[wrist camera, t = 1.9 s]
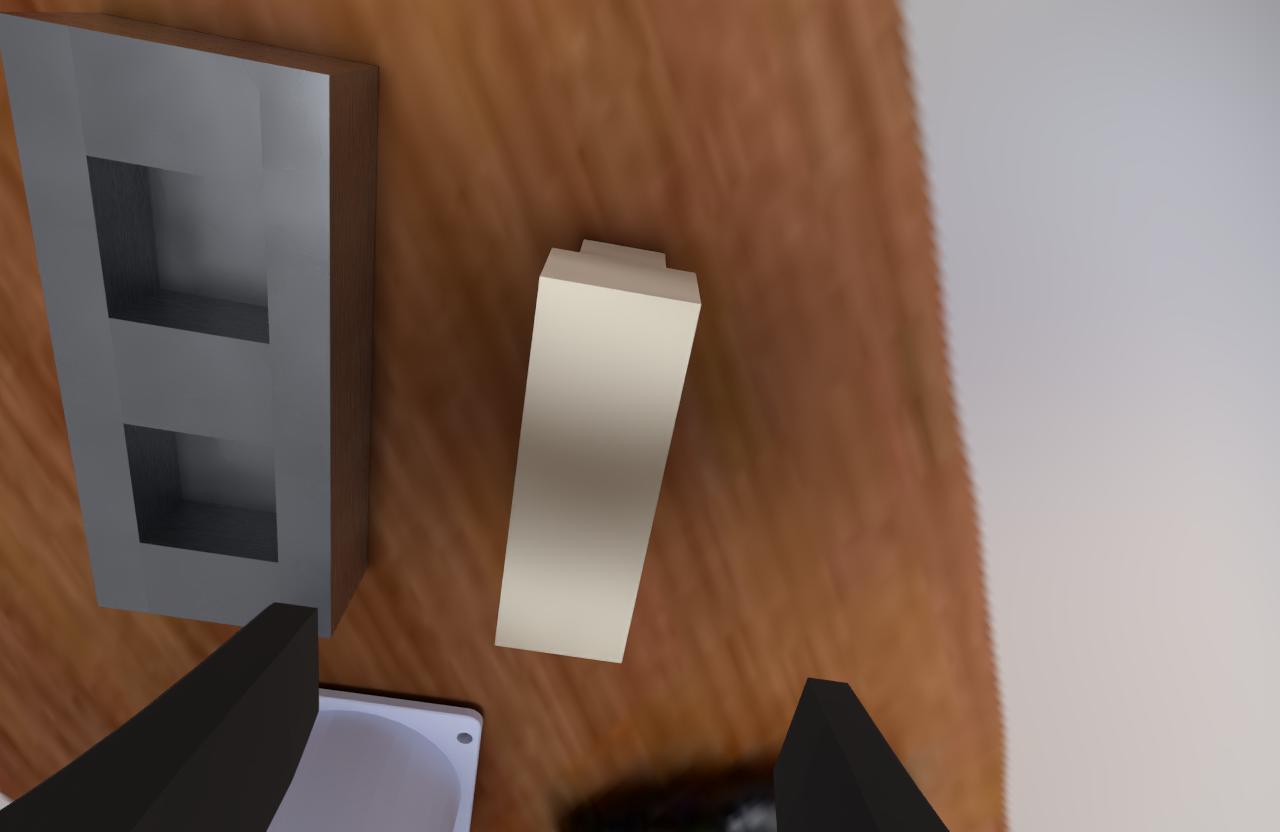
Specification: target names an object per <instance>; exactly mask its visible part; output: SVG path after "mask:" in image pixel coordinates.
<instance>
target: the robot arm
mask: <svg viewBox="0 0 1280 832" xmlns="http://www.w3.org/2000/svg"><path fill="white" fill-rule="evenodd" d="M482 725H483V718H482V716H481V715H480V713H478V712H477V711H475V710H473V709H469V708H462V707H455V706H447V705H440V704H432V703H425V702H418V701H410V700H403V699H395V698H388V697H381V696H373V695H366V694H358V693H351V692H343V691H336V690H329V689H321V688H319V660H318V608H314V607H307V606H300V605H293V604H286V603H278V602H274V603H272V604H271V605H269V606H268V607H266V608H265V609H264V610H263V611H262V612H260V613H259V614H258V615H257V616H256V617H254V618H253V619H252V620H251V621H250V622H249V623H247V624H246V625H245V626H244V627H243V628H242V629H240V630H239V631H238V632H237V633H236V634H235V635H233V636H232V637H231V638H230V639H229V640H228V641H226V642H225V643H224V644H223V645H222V646H221V647H219V648H218V649H217V650H216V651H215V652H213V653H212V654H211V655H210V656H209V657H207V658H206V659H205V660H204V661H203V662H201V663H200V664H199V665H198V666H197V667H195V668H194V669H193V670H192V671H190V672H189V673H188V674H187V675H186V676H184V677H183V678H182V679H180V680H179V681H178V682H177V683H175V684H174V685H173V686H172V687H170V688H169V689H168V690H167V691H165V692H164V693H163V694H162V695H160V696H159V697H158V698H157V699H155V700H154V701H153V702H152V703H150V704H149V705H148V706H147V707H145V708H144V709H143V710H141V711H140V712H139V713H138V714H136V715H135V716H134V717H132V718H131V719H130V720H128V721H127V722H126V723H124V724H123V725H122V726H120V727H119V728H118V729H116V730H115V731H113V732H112V733H111V734H109V735H108V736H107V737H105V738H104V739H103V740H101V741H100V742H98V743H97V744H96V745H94V746H93V747H92V748H90V749H89V750H88V751H86V752H85V753H83V754H82V755H81V756H79V757H78V758H77V759H75V760H74V761H73V762H71V763H70V764H68V765H67V766H65V767H64V768H63V769H61V770H60V771H58V772H57V773H55V774H54V775H52V776H51V777H50V778H48V779H47V780H45V781H44V782H42V783H41V784H39V785H38V786H36V787H35V788H33V789H32V790H30V791H29V792H27V793H26V794H24V795H23V796H21V797H20V798H18V799H17V800H15V801H14V802H12V803H11V804H9V805H7V806H6V807H4V808H3V809H1V810H0V832H470V825H471V816H472V808H473V800H474V791H475V783H476V775H477V767H478V758H479V750H480V742H481V733H482ZM464 733H468V734H464ZM773 773H774V790H775V807H776V820H777V832H950V831H949V830H948V829H947V827H946V826H945V825H944V823H943V822H942V820H941V819H940V818H939V816H938V815H937V813H936V812H935V811H934V809H933V808H932V806H931V805H930V804H929V802H928V801H927V799H926V798H925V797H924V795H923V794H922V792H921V791H920V790H919V788H918V787H917V785H916V784H915V782H914V781H913V780H912V778H911V777H910V775H909V774H908V772H907V771H906V769H905V768H904V767H903V765H902V764H901V762H900V761H899V759H898V758H897V756H896V755H895V753H894V752H893V750H892V749H891V747H890V746H889V744H888V743H887V741H886V740H885V738H884V737H883V735H882V734H881V732H880V731H879V729H878V728H877V726H876V725H875V723H874V722H873V720H872V719H871V717H870V716H869V714H868V713H867V711H866V710H865V708H864V707H863V705H862V704H861V702H860V701H859V699H858V698H857V696H856V695H855V693H854V692H853V690H852V689H851V687H850V686H849V684H848V683H843V682H836V681H829V680H822V679H815V678H808V679H807V681H806V684H805V687H804V690H803V692H802V695H801V698H800V700H799V703H798V706H797V708H796V711H795V714H794V716H793V719H792V722H791V725H790V727H789V730H788V733H787V735H786V738H785V741H784V743H783V746H782V749H781V752H780V754H779V757H778V760H777V762H776V765H775V768H774V770H773Z"/></svg>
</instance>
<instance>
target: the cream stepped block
mask: <svg viewBox="0 0 1280 832" xmlns="http://www.w3.org/2000/svg"><path fill="white" fill-rule="evenodd" d="M700 308H701V300H700V295H699V289H698V283H697V278H696V273H693V272H687V271H681V270H676V269H670V268H666V261H665V253H659V252H654V251H648V250H642V249H637V248H631V247H626V246H620V245H614V244H609V243H603V242H597V241H592V240H586V239H584V240H583V244H582V247H581V250H580V253H579V252H574V251H568V250H562V249H557V248H552V249H551V251H550V254H549V256H548V258H547V261H546V263H545V266H544V268H543V270H542V273H541V275H540V279H539V287H538V296H537V304H536V312H535V320H534V328H533V337H532V345H531V353H530V361H529V369H528V377H527V386H526V394H525V402H524V410H523V418H522V426H521V435H520V443H519V451H518V459H517V467H516V475H515V484H514V492H513V500H512V508H511V516H510V524H509V533H508V541H507V549H506V557H505V565H504V574H503V582H502V590H501V598H500V606H499V614H498V623H497V631H496V639H495V645H496V646H503V647H510V648H517V649H524V650H531V651H538V652H545V653H552V654H559V655H567V656H574V657H581V658H588V659H595V660H602V661H609V662H616V663H622V659H623V654H624V650H625V645H626V641H627V636H628V632H629V627H630V623H631V618H632V614H633V609H634V605H635V600H636V596H637V591H638V587H639V582H640V578H641V573H642V569H643V564H644V560H645V555H646V551H647V546H648V542H649V537H650V533H651V528H652V524H653V519H654V515H655V510H656V506H657V501H658V497H659V492H660V488H661V483H662V479H663V474H664V470H665V465H666V461H667V456H668V452H669V447H670V443H671V438H672V434H673V429H674V425H675V420H676V416H677V411H678V407H679V402H680V398H681V393H682V389H683V384H684V380H685V375H686V371H687V366H688V362H689V357H690V353H691V348H692V344H693V339H694V335H695V330H696V326H697V321H698V317H699V312H700Z"/></svg>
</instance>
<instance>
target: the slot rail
mask: <svg viewBox="0 0 1280 832" xmlns="http://www.w3.org/2000/svg"><path fill="white" fill-rule="evenodd" d="M0 49H1V55H2V60H3V66H4V72H5V78H6V83H7V89H8V95H9V100H10V106H11V112H12V117H13V123H14V129H15V135H16V140H17V146H18V152H19V157H20V163H21V169H22V174H23V180H24V186H25V192H26V197H27V203H28V209H29V214H30V220H31V226H32V232H33V237H34V243H35V249H36V254H37V260H38V266H39V271H40V277H41V283H42V289H43V294H44V300H45V306H46V311H47V317H48V323H49V328H50V334H51V340H52V346H53V351H54V357H55V363H56V368H57V374H58V380H59V385H60V391H61V397H62V403H63V408H64V414H65V420H66V425H67V431H68V437H69V442H70V448H71V454H72V460H73V465H74V471H75V477H76V482H77V488H78V494H79V499H80V505H81V511H82V517H83V522H84V528H85V534H86V539H87V545H88V551H89V556H90V562H91V568H92V574H93V579H94V585H95V591H96V596H97V602H98V606H100V607H108V608H115V609H122V610H129V611H136V612H144V613H151V614H158V615H165V616H172V617H180V618H187V619H194V620H201V621H208V622H215V623H223V624H230V625H237V626H245V625H246V624H247V623H249V622H250V621H251V620H252V619H253V618H254V617H256V616H257V615H258V614H259V613H260V612H262V611H263V610H264V609H265V608H266V607H268V606H269V605H271V604H272V603H274V602H278V603H286V604H293V605H300V606H307V607H314V608H318V637H323V638H330V639H331V637H332V635H333V633H334V631H335V629H336V628H337V626H338V624H339V622H340V620H341V618H342V616H343V614H344V612H345V610H346V608H347V606H348V604H349V602H350V600H351V598H352V596H353V594H354V593H355V591H356V589H357V587H358V585H359V583H360V581H361V579H362V577H363V575H364V573H365V571H366V569H367V550H368V507H369V464H370V422H371V379H372V336H373V294H374V251H375V208H376V166H377V123H378V80H379V66H375V65H369V64H364V63H359V62H354V61H348V60H343V59H338V58H333V57H327V56H322V55H317V54H311V53H306V52H301V51H296V50H290V49H285V48H280V47H275V46H269V45H264V44H259V43H253V42H248V41H243V40H238V39H232V38H227V37H222V36H217V35H211V34H206V33H201V32H195V31H190V30H185V29H180V28H174V27H169V26H164V25H159V24H153V23H148V22H143V21H138V20H132V19H127V18H122V17H116V16H111V15H106V14H101V13H45V12H0Z"/></svg>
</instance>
